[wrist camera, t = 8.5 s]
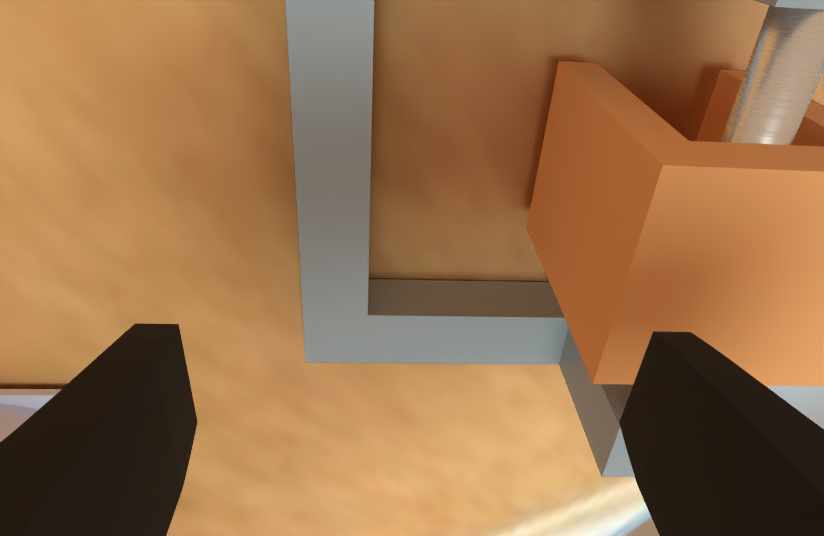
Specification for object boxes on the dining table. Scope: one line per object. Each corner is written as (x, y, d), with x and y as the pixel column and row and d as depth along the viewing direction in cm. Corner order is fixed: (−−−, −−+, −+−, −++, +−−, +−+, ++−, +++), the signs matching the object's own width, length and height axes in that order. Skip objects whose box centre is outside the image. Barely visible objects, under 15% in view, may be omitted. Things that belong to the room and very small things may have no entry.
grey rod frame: (815, 329, 22) (955, 473, 17) (310, 324, 21) (288, 479, 16) (1057, -105, 15) (1457, -96, 9) (288, -162, 13) (228, -189, 8)
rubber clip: (695, 232, 18) (832, 386, 13) (526, 227, 18) (592, 384, 12) (756, 71, 16) (964, 177, 10) (558, 60, 15) (663, 165, 10)
